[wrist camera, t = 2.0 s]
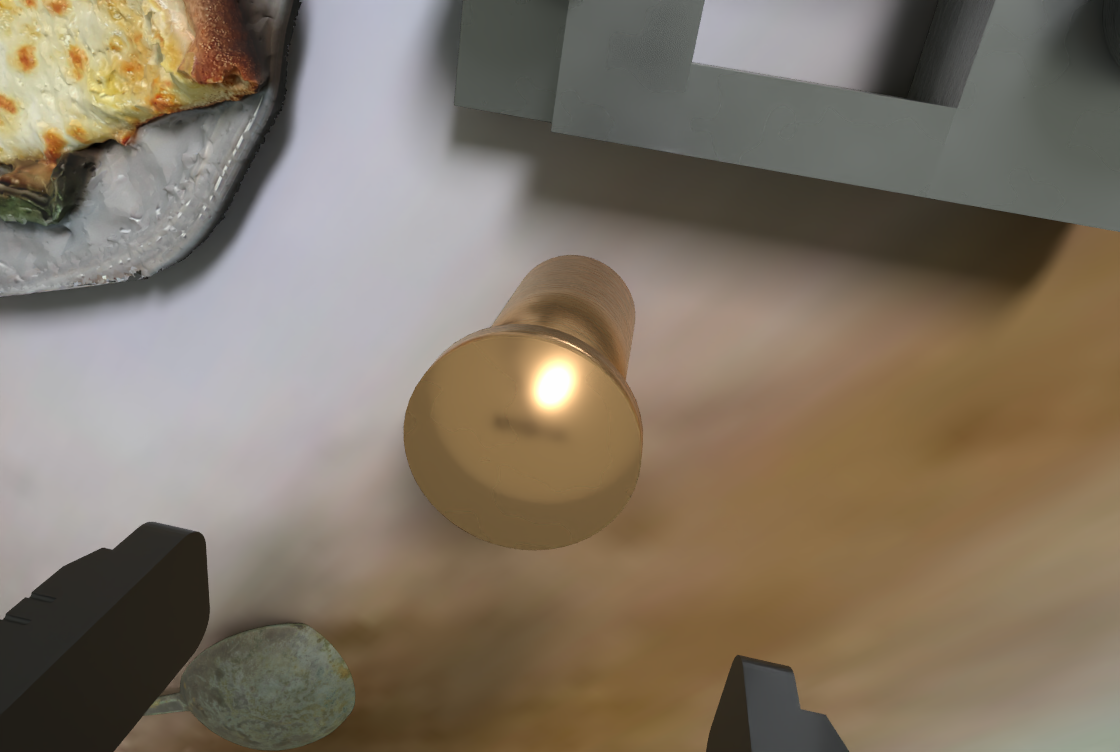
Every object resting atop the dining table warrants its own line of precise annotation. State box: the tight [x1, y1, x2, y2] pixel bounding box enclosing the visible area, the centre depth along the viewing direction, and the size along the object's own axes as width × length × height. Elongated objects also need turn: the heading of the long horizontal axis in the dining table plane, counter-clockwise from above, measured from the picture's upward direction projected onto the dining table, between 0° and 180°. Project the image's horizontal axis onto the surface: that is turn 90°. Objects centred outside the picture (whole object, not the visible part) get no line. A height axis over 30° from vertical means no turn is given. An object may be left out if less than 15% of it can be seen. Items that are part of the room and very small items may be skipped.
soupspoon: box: [143, 623, 355, 750], centre depth 34 cm, size 22×3×7 cm
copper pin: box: [404, 255, 643, 550], centre depth 20 cm, size 5×5×9 cm
